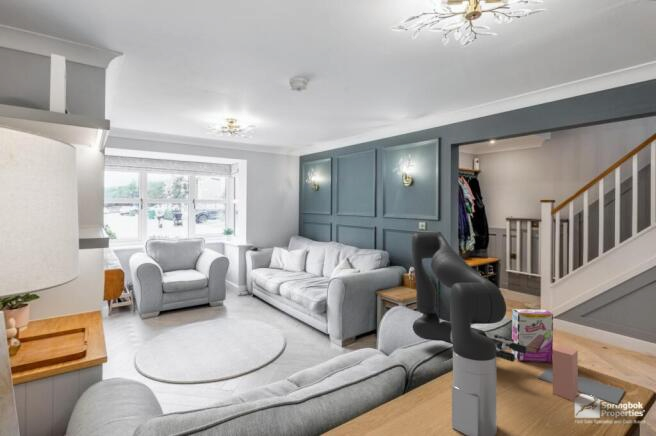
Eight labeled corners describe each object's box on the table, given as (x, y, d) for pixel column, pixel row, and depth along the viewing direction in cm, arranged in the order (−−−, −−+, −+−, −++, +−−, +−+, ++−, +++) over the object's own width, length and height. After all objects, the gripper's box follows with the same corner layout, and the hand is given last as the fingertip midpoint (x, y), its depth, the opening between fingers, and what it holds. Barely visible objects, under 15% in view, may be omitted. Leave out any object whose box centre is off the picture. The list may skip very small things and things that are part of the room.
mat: (616, 404, 84) (616, 403, 84) (537, 378, 98) (537, 377, 98) (625, 391, 90) (625, 390, 90) (549, 368, 104) (549, 367, 104)
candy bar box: (518, 362, 109) (517, 312, 109) (511, 355, 114) (511, 308, 114) (554, 363, 108) (553, 313, 108) (545, 356, 113) (545, 309, 113)
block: (572, 400, 86) (572, 355, 86) (552, 393, 90) (552, 349, 89) (577, 394, 89) (577, 350, 89) (558, 388, 92) (558, 345, 92)
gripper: (457, 332, 106) (510, 347, 93) (478, 322, 115) (529, 335, 102) (457, 355, 106) (510, 374, 94) (478, 343, 115) (529, 359, 102)
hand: (520, 354), depth 98 cm, fingers open, 8 cm apart
